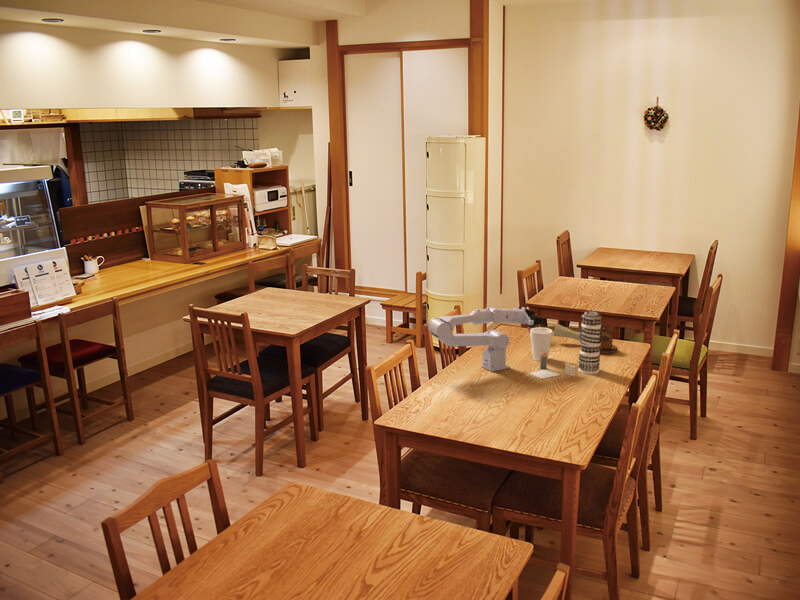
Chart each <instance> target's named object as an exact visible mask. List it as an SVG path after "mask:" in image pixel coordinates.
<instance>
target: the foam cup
mask: <svg viewBox="0 0 800 600" xmlns="http://www.w3.org/2000/svg"><path fill="white" fill-rule="evenodd" d="M552 332H553V330H552V329H551V328H547V327H543V328H541V326H540V327H533V328H532V329H531V330H530V333H529V336H530V343H531V352H532V353H531V354H532V359H533V360H534V361H537V362H541V352H547V360H548V359H549V353H550V348H551V342H552V338H553V333H552Z"/></svg>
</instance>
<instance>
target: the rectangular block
mask: <svg viewBox="0 0 800 600" xmlns="http://www.w3.org/2000/svg"><path fill="white" fill-rule="evenodd" d="M564 373H565V374H566V375H569V376H571V377H576V366H574V365H572V364H570V363H567V362H566V363H565V367H564Z"/></svg>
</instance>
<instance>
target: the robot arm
mask: <svg viewBox="0 0 800 600" xmlns="http://www.w3.org/2000/svg"><path fill="white" fill-rule="evenodd" d="M545 320H546V319H545V318H544V317H541V316H536V311H534V310H531V309H528V308H526V307H524V306H521V305H519V307H518V308H517V307H513V308H496V307H493V306H487V307H486V308H483V309H480V308H475V309H474V310H472V311H471V312H470V313H469V314H459V315H458V314H456V315H445V316H442V315H441V316H439V317H433V318H431V319H430V320H428V323H427V328H428V331H429V332H430V334H431V335H432V336H434V337H435V338H436V339H438V340H439V341H440V342H442V343H443V344H444V345H445V346H447V347H468V346H469V347H473V346H475V347H477V346H488V347H487V348H485V349H484V350H483V352H482V365H481V368H482V367H483V368H484V369H486V370H488V371H490V372H497V371H502V370H507V369H510V368H511V367H510V366H509V365H507V364H506V362H507V361H506V360H507V348H508V346H509V344H510V338H509V336H508V335H507V334H504V333H502V332H500V331H499V330H497V329H494V328H493V329H492V328H491V329H490V330H488V331H484V332H482V333H481V332H478V333H477V332H476V333H472V332H471V333H470V332H469V333H453V332H452V331H454V330H455V327H456V326H459V325H464V324H465V325H466V324H470V323H471V324H473V325H480V324H481V325H482V324H488V323H490V322H491V323H493V324H496V325H497V324H500V323H513V324H514V323H515V324H522V325H527V327H528V326H529V327H530V328H532V327H533V328H535V327H537V326H536V325H538V326H539V325H541V324H544V323H545Z"/></svg>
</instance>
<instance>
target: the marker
mask: <svg viewBox="0 0 800 600" xmlns="http://www.w3.org/2000/svg"><path fill="white" fill-rule="evenodd" d="M539 362H540V366H539V367H540V368H539V370H546V369H548V368H547V366H548V365H547V364H548V359H547V352H541V361H539Z"/></svg>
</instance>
